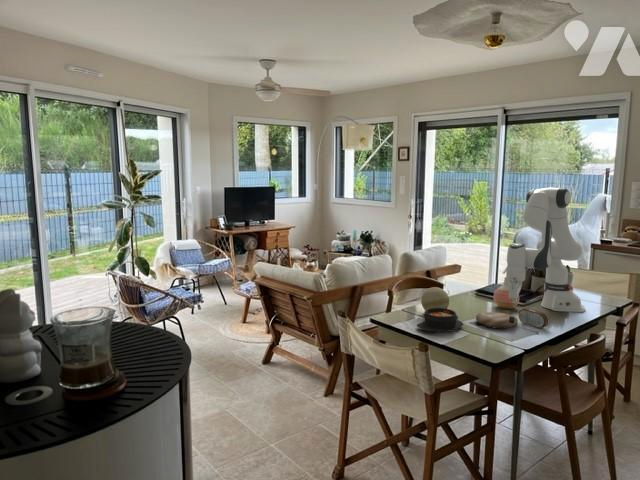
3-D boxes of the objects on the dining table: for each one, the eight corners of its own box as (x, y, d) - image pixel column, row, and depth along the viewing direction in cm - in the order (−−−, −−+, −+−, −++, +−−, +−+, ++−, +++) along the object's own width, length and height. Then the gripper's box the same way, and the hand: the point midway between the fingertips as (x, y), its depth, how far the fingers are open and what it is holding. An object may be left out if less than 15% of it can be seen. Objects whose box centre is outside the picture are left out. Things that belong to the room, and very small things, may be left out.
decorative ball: (437, 320, 253) (438, 292, 251) (415, 313, 265) (415, 287, 262) (454, 314, 263) (455, 287, 260) (432, 308, 274) (432, 282, 272)
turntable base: (511, 321, 251) (511, 318, 251) (510, 329, 238) (510, 326, 238) (482, 318, 256) (483, 315, 256) (481, 326, 243) (481, 323, 243)
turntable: (525, 321, 245) (525, 313, 244) (502, 330, 233) (503, 321, 232) (491, 312, 261) (491, 304, 260) (468, 319, 249) (468, 311, 248)
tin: (547, 329, 238) (549, 313, 237) (544, 330, 237) (545, 314, 235) (520, 321, 251) (521, 305, 249) (516, 322, 249) (517, 306, 248)
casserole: (445, 319, 255) (446, 303, 254) (472, 329, 239) (472, 313, 238) (408, 326, 244) (409, 310, 242) (433, 338, 227) (434, 321, 226)
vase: (514, 304, 280) (516, 275, 277) (521, 311, 267) (523, 280, 264) (490, 304, 282) (491, 274, 279) (496, 311, 268) (498, 280, 265)
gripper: (520, 281, 228) (518, 309, 230) (524, 272, 245) (523, 298, 248) (505, 280, 231) (504, 307, 233) (511, 270, 248) (510, 296, 251)
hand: (514, 302), depth 240 cm, fingers closed
